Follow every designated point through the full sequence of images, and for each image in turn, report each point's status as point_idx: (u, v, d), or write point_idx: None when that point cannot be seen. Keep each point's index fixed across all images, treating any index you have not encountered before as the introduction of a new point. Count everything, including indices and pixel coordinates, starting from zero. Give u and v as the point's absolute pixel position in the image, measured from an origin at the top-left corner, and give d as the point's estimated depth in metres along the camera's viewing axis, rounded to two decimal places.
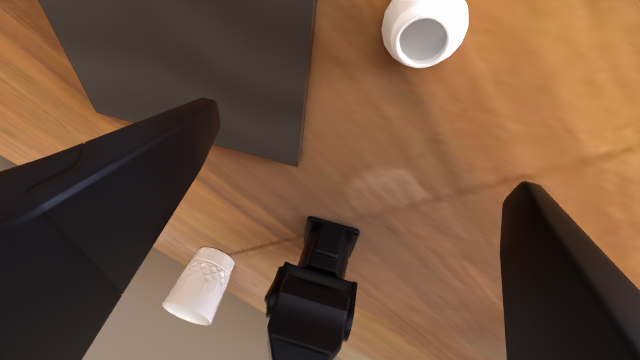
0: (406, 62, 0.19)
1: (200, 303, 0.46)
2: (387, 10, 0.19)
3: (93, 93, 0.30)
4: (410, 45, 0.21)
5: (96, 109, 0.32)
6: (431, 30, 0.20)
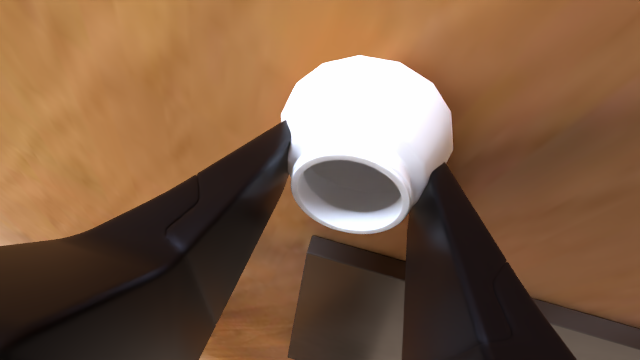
0: (392, 223, 0.08)
1: None
2: None
3: None
4: None
5: None
6: None
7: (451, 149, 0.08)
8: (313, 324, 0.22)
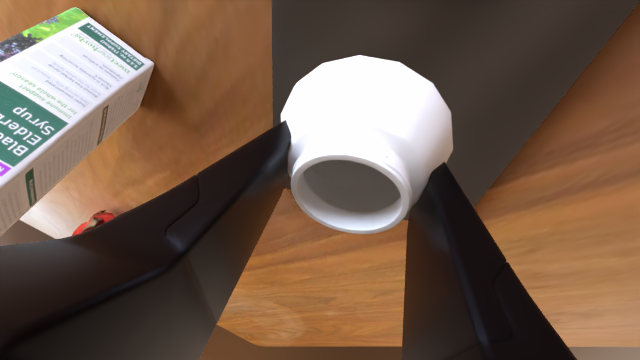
0: (392, 223, 0.08)
1: None
2: None
3: None
4: None
5: None
6: None
7: (451, 149, 0.08)
8: (294, 57, 0.18)
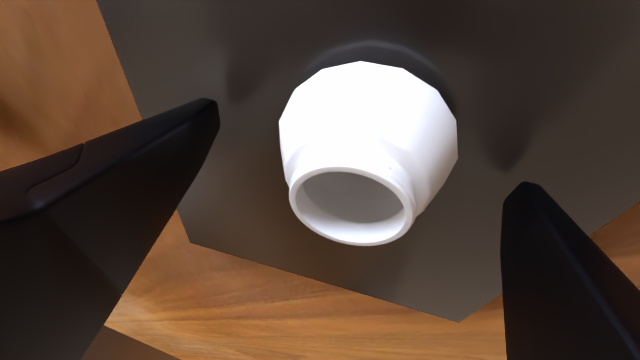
0: (395, 236, 0.08)
1: None
2: None
3: (419, 303, 0.17)
4: None
5: (452, 318, 0.17)
6: None
7: (456, 158, 0.08)
8: (153, 46, 0.09)
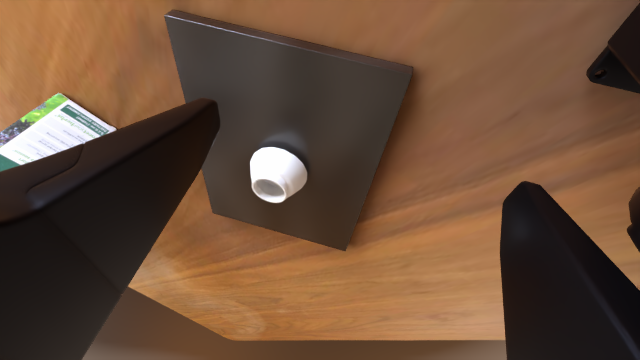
0: (284, 198, 0.26)
1: None
2: (271, 188, 0.28)
3: (324, 241, 0.34)
4: None
5: (342, 249, 0.35)
6: None
7: (304, 174, 0.26)
8: None
